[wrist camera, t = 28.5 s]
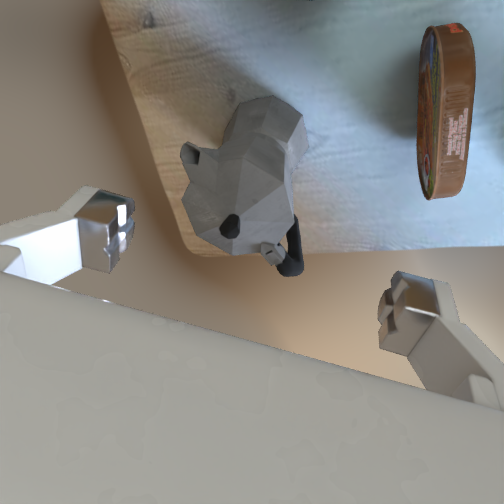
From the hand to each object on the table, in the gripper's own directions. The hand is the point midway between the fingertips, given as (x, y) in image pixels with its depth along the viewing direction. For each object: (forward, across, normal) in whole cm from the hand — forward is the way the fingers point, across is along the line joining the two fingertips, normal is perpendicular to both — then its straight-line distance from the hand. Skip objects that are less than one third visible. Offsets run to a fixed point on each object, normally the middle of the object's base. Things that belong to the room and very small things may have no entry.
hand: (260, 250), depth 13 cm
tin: (+33, -12, +4) cm, 36 cm away
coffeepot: (+33, +2, +12) cm, 35 cm away
